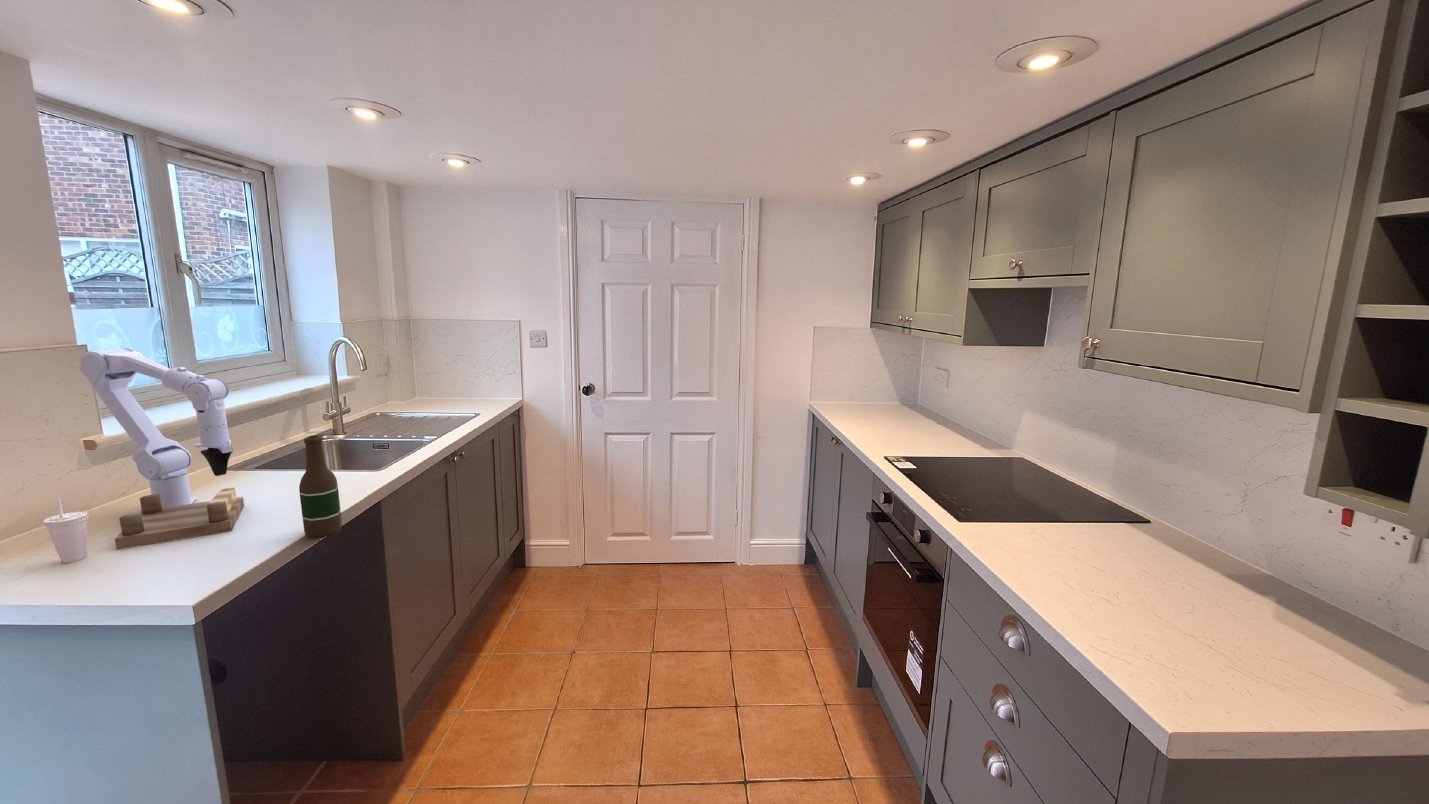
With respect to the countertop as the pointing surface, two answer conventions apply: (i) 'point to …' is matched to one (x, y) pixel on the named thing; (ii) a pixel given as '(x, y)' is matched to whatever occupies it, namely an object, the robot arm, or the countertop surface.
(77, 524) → the smoothie
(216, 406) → the robot arm
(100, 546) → the countertop surface
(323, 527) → the beer bottle
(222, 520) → the stool seat
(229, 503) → the oak leg
